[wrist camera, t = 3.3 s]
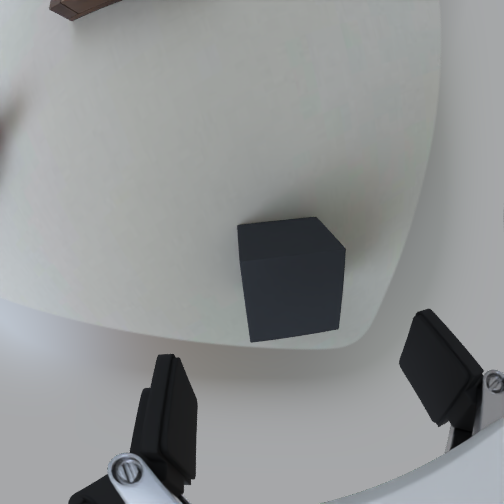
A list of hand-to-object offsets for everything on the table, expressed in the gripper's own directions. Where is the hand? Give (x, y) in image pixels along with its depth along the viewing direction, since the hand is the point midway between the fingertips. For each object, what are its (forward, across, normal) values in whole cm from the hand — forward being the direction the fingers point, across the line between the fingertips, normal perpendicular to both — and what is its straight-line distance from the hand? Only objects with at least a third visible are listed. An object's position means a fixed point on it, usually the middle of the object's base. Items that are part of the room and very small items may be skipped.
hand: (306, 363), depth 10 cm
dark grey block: (+9, -1, 0) cm, 9 cm away
